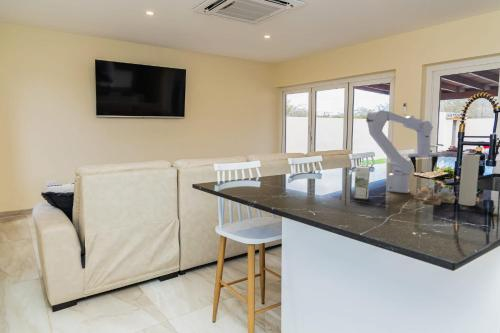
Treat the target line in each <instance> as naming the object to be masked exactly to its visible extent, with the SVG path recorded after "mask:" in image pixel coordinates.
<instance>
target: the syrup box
mask: <svg viewBox="0 0 500 333" xmlns="http://www.w3.org/2000/svg"><path fill="white" fill-rule="evenodd" d="M370 168H371V167H370V166H369V165H368V166H367V165H356V166H355V170H354V171H355V174H354V194H353V198H354V199H358V200H368V199H369V189H370V188H369V187H370V171H371V169H370Z"/></svg>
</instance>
